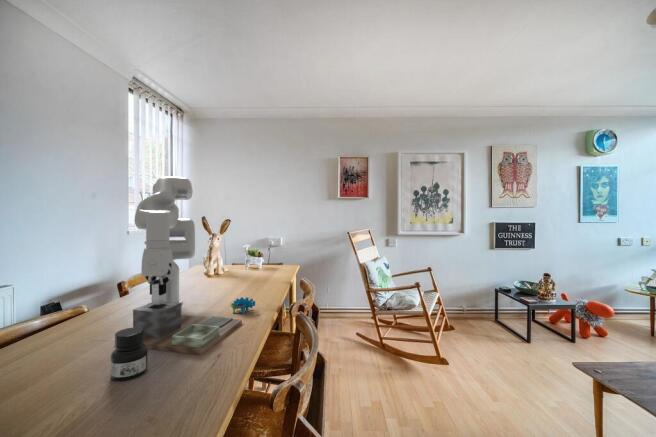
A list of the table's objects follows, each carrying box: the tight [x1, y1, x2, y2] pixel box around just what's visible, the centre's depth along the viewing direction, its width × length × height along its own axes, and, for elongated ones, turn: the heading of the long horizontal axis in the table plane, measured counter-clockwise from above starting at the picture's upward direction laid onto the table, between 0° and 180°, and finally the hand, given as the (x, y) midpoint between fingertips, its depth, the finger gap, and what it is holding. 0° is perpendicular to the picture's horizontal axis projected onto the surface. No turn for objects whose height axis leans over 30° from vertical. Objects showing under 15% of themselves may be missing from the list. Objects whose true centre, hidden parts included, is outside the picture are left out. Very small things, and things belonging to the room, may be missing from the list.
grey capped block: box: [149, 278, 165, 305], centre depth 112 cm, size 6×3×9 cm, turn 169°
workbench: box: [132, 302, 243, 356], centre depth 115 cm, size 33×28×11 cm
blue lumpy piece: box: [230, 297, 256, 315], centre depth 139 cm, size 11×6×10 cm
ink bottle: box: [110, 326, 149, 381], centre depth 87 cm, size 10×9×12 cm
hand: (158, 293), depth 112 cm, fingers closed on grey capped block, 3 cm apart
